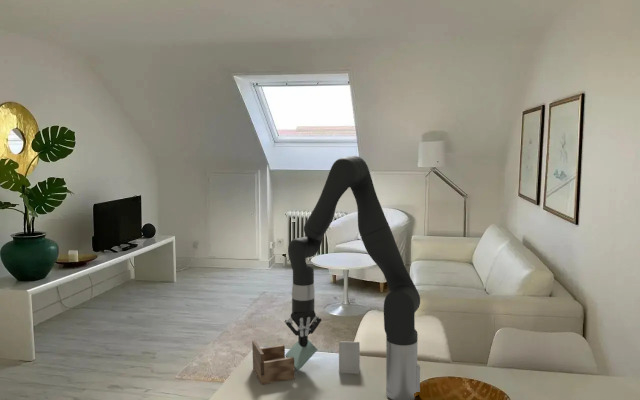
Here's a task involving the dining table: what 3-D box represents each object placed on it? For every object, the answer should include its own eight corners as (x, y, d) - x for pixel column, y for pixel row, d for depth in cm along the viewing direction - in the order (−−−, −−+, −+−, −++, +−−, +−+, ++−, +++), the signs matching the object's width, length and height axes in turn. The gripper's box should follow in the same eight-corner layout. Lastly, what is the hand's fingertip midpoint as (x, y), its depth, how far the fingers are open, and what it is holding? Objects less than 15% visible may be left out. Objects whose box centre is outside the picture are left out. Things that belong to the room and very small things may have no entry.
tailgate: (286, 357, 176) (306, 337, 178) (297, 371, 165) (317, 349, 167) (284, 355, 176) (303, 334, 177) (294, 369, 164) (315, 347, 166)
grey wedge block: (359, 373, 168) (359, 344, 167) (339, 372, 169) (338, 343, 168) (359, 368, 172) (359, 340, 171) (339, 367, 172) (339, 339, 171)
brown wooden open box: (284, 364, 176) (283, 336, 175) (294, 378, 165) (294, 349, 164) (253, 369, 172) (252, 340, 171) (261, 384, 161) (260, 354, 160)
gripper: (287, 301, 164) (287, 353, 166) (325, 297, 168) (325, 347, 170) (281, 294, 171) (281, 344, 173) (317, 291, 175) (317, 339, 177)
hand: (303, 345), depth 171 cm, fingers closed
